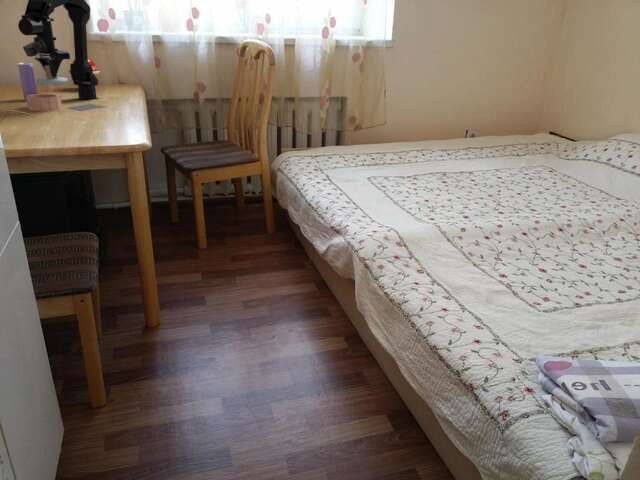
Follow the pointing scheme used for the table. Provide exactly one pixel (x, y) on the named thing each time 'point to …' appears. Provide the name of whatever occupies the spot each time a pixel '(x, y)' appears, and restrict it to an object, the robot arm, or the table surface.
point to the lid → (51, 78)
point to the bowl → (44, 102)
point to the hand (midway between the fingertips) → (51, 77)
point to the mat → (85, 107)
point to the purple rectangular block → (28, 79)
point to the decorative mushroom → (94, 68)
